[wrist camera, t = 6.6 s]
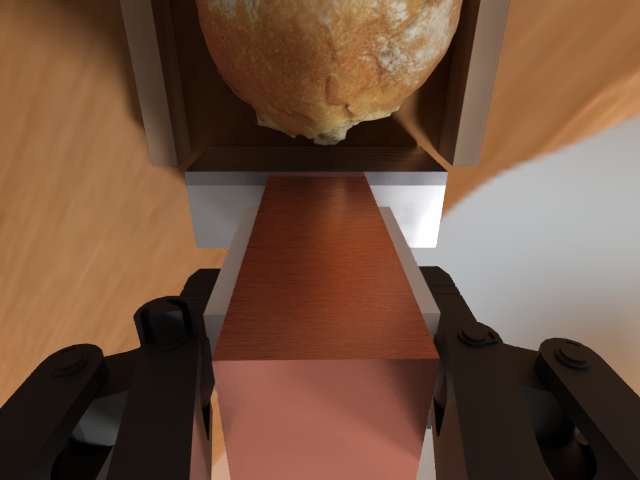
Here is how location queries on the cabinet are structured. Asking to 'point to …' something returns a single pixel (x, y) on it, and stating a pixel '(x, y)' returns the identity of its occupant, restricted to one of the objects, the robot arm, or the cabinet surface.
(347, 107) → the bread roll
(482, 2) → the frame
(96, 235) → the cabinet surface
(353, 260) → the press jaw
